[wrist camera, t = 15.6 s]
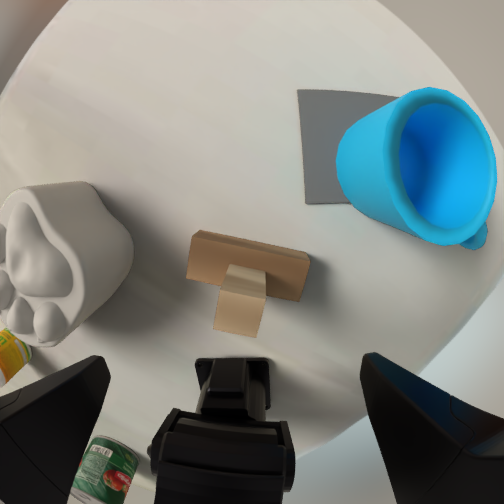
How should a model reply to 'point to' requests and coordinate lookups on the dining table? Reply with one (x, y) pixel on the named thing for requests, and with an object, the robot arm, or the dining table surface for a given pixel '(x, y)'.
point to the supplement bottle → (12, 355)
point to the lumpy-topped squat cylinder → (58, 259)
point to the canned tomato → (104, 472)
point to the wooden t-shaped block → (245, 277)
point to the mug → (422, 168)
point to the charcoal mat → (329, 136)
